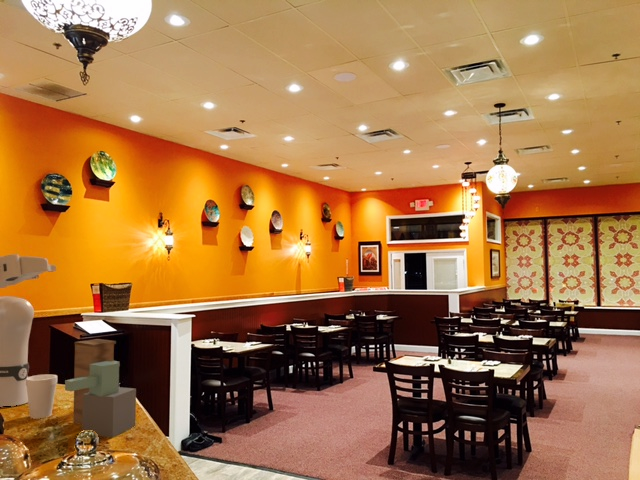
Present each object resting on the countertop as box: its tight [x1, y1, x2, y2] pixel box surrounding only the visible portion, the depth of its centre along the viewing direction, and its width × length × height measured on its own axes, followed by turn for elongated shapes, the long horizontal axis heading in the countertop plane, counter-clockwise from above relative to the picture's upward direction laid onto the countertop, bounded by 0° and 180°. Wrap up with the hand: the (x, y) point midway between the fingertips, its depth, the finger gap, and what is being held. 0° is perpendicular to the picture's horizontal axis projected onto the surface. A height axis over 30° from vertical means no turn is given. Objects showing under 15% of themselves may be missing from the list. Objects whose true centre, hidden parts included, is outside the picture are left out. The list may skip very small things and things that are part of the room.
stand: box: [72, 338, 117, 426], centre depth 174 cm, size 9×10×26 cm
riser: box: [81, 386, 137, 439], centre depth 165 cm, size 11×11×12 cm
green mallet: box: [64, 360, 121, 396], centre depth 160 cm, size 17×6×9 cm, turn 148°
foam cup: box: [26, 373, 58, 420], centre depth 179 cm, size 10×9×13 cm
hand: (46, 272), depth 161 cm, fingers open, 8 cm apart
